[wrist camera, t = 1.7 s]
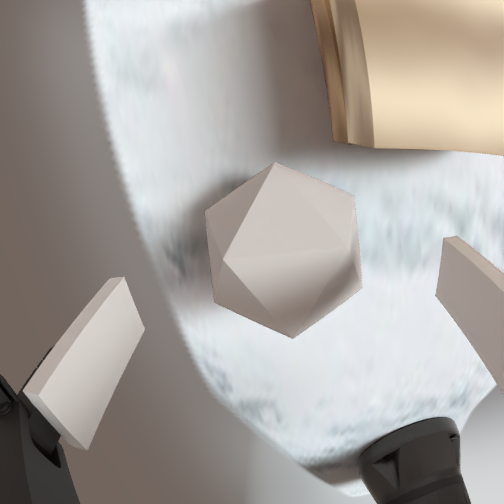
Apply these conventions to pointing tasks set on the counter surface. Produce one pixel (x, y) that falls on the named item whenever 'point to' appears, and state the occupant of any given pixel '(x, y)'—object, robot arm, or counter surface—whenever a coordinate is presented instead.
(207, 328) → the counter surface
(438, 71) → the tower top slab
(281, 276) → the die
